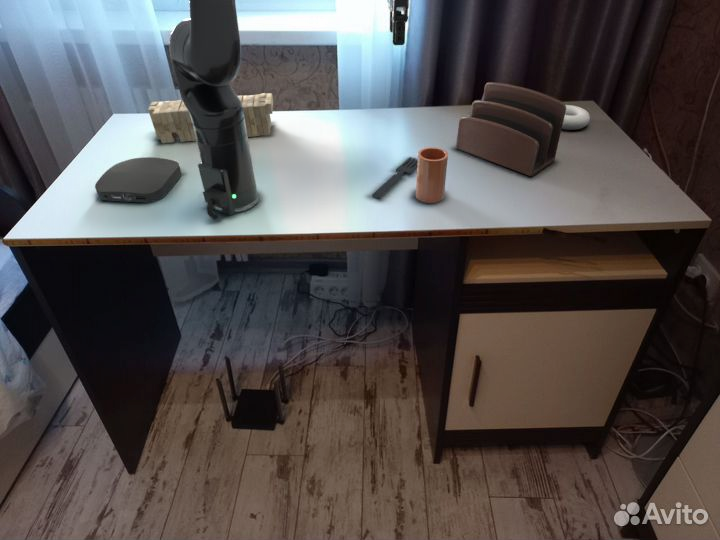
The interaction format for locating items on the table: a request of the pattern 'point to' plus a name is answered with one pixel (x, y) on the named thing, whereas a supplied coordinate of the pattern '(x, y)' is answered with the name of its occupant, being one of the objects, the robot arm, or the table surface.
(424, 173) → the tumbler
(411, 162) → the fork
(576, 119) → the donut
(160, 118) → the block tower
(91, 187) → the table surface
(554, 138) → the letter holder
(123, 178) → the media streaming box
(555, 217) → the table surface
